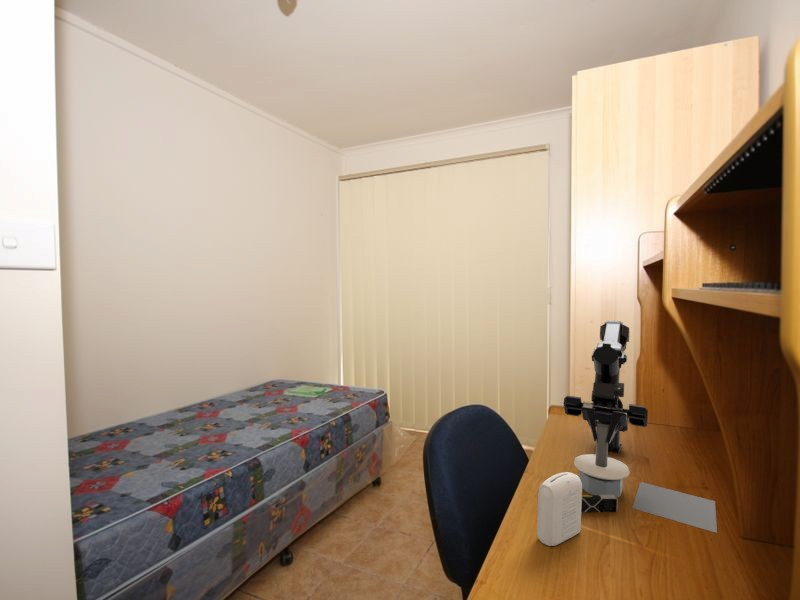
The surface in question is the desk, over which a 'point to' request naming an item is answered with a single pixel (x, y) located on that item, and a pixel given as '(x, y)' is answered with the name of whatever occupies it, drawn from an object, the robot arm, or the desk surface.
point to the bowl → (600, 485)
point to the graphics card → (599, 503)
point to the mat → (676, 506)
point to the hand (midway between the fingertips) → (601, 441)
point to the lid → (601, 460)
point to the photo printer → (559, 508)
